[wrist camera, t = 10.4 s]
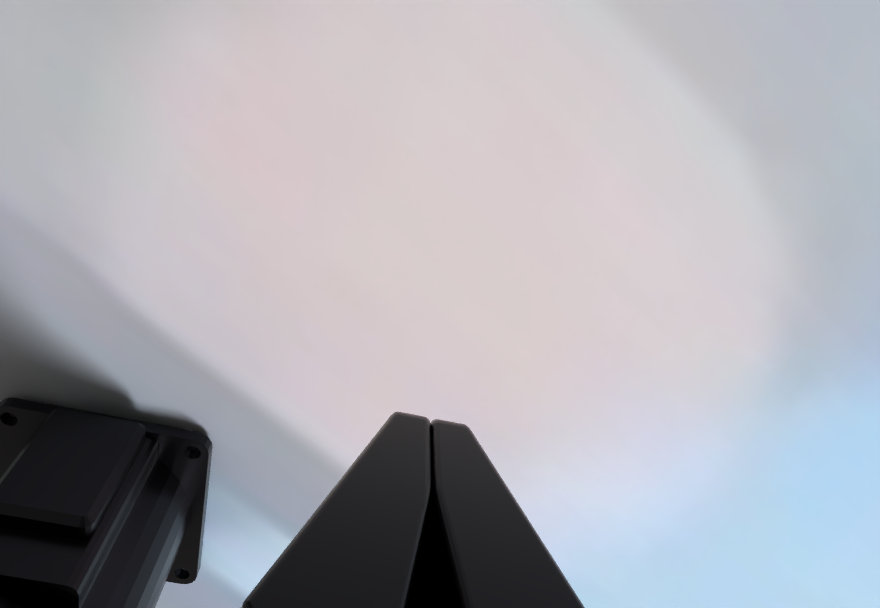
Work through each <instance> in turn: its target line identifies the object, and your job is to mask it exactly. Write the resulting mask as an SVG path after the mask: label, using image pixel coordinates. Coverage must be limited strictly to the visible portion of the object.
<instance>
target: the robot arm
mask: <svg viewBox="0 0 880 608" xmlns="http://www.w3.org/2000/svg"><path fill="white" fill-rule="evenodd" d="M8 412H9V413H11V414H13V415H14V416H16V418H15V417H13V416H11V415H10V414H9V413H8ZM189 446H194V447H196V448H198V449H199V450H193V449H191V448H190V447H189ZM211 456H212V442H211V441H210V439H209V438H208V437H207V436H206V435H204V434H202V433H199V432H196V431H190V430H185V429H179V428H174V427H168V426H163V425H158V424H152V423H147V422H141V421H136V420H130V419H125V418H120V417H114V416H109V415H103V414H98V413H93V412H87V411H82V410H76V409H71V408H65V407H60V406H55V405H49V404H44V403H38V402H33V401H28V400H22V399H17V398H7V399H4V400H2V401H1V402H0V608H155V606H156V604H157V601H158V599H159V596H160V594H161V591H162V589H163V587H164V584H165V582H166V581H168V582H174V583H180V584H188V583H192V582H193V581H195V579H196V577H197V574H198V572H199V569H200V564H201V554H202V544H203V534H204V525H205V515H206V505H207V495H208V485H209V475H210V466H211ZM184 569H185V570H184ZM241 608H584V606H583V604H582V603H581V601H580V600H579V598H578V597H577V595H576V594H575V592H574V590H573V589H572V587H571V586H570V584H569V583H568V581H567V580H566V578H565V576H564V575H563V573H562V572H561V570H560V569H559V567H558V565H557V564H556V562H555V561H554V559H553V558H552V556H551V555H550V553H549V551H548V550H547V548H546V547H545V545H544V544H543V542H542V541H541V539H540V537H539V536H538V534H537V533H536V531H535V530H534V528H533V526H532V525H531V523H530V522H529V520H528V519H527V517H526V516H525V514H524V512H523V511H522V509H521V508H520V506H519V505H518V503H517V502H516V500H515V498H514V497H513V495H512V494H511V492H510V491H509V489H508V487H507V486H506V484H505V483H504V481H503V480H502V478H501V477H500V475H499V473H498V472H497V470H496V469H495V467H494V466H493V464H492V463H491V461H490V459H489V458H488V456H487V455H486V453H485V452H484V450H483V448H482V447H481V445H480V444H479V442H478V441H477V439H476V438H475V436H474V434H473V433H472V431H471V430H470V428H469V427H467V426H466V425H464V424H460V423H454V422H449V421H444V420H439V419H435V420H433V421H432V422H431V423H430V421H429V420H428V419H427V418H426V417H423V416H418V415H413V414H408V413H402V412H395V413H394V414H392V415H391V416H390V418H389V419H388V420H387V421H386V423H385V424H384V425H383V426H382V428H381V429H380V430H379V431H378V433H377V434H376V435H375V437H374V438H373V439H372V440H371V442H370V443H369V444H368V445H367V447H366V448H365V449H364V450H363V452H362V453H361V454H360V456H359V457H358V458H357V459H356V461H355V462H354V463H353V464H352V466H351V467H350V468H349V469H348V471H347V472H346V473H345V474H344V476H343V477H342V478H341V480H340V481H339V482H338V483H337V485H336V486H335V487H334V488H333V490H332V491H331V492H330V493H329V495H328V496H327V497H326V499H325V500H324V501H323V502H322V504H321V505H320V506H319V507H318V509H317V510H316V511H315V512H314V514H313V515H312V516H311V517H310V519H309V520H308V521H307V523H306V524H305V525H304V526H303V528H302V529H301V530H300V531H299V533H298V534H297V535H296V536H295V538H294V539H293V540H292V542H291V543H290V544H289V545H288V547H287V548H286V549H285V550H284V552H283V553H282V554H281V555H280V557H279V558H278V559H277V560H276V562H275V563H274V564H273V566H272V567H271V568H270V569H269V571H268V572H267V573H266V574H265V576H264V577H263V578H262V579H261V581H260V582H259V583H258V585H257V586H256V587H255V588H254V590H253V591H252V592H251V593H250V595H249V596H248V597H247V598H246V600H245V601H244V603H243V606H242V607H241Z"/></svg>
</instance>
